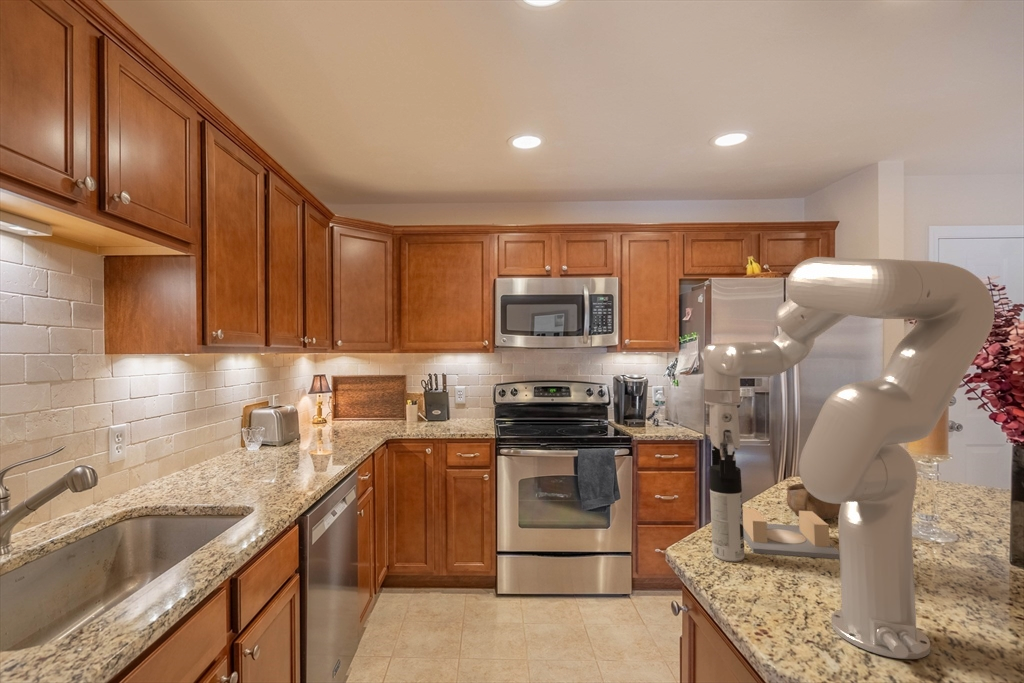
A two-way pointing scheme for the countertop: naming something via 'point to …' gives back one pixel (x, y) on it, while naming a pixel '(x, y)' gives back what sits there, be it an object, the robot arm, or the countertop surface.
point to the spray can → (726, 516)
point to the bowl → (809, 503)
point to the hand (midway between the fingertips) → (723, 472)
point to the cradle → (788, 536)
